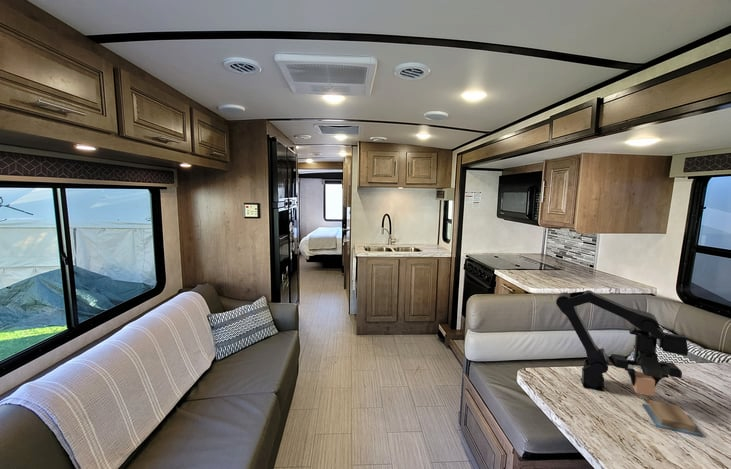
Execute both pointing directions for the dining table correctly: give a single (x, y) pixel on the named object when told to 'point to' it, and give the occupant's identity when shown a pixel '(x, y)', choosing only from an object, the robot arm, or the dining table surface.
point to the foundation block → (670, 418)
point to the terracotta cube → (644, 384)
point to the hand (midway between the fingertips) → (642, 386)
